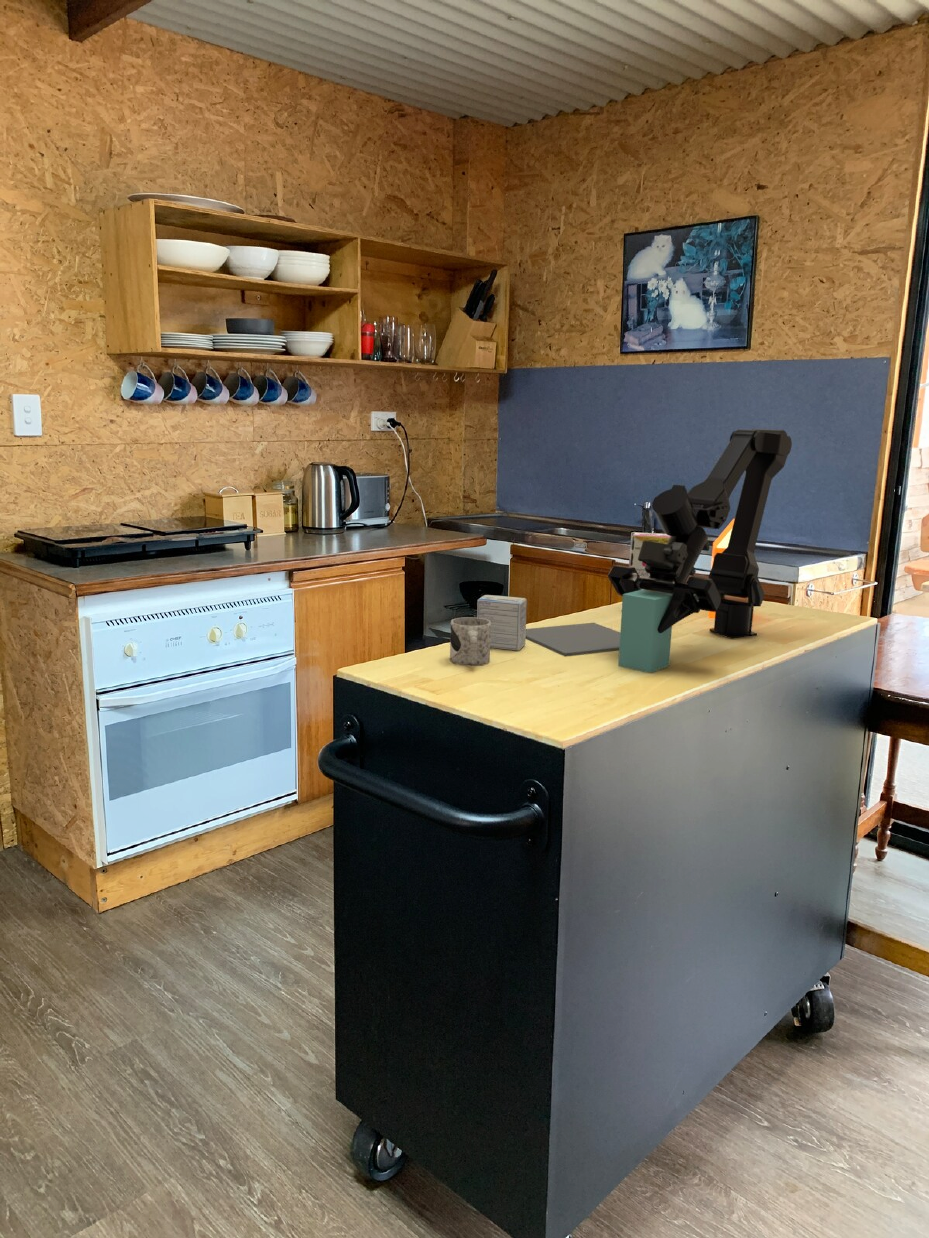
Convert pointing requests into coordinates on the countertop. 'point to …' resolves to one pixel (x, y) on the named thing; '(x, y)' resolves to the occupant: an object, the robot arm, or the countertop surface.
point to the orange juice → (721, 549)
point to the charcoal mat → (576, 638)
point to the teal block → (644, 631)
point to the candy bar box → (636, 547)
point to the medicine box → (504, 620)
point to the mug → (470, 641)
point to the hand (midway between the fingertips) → (641, 628)
